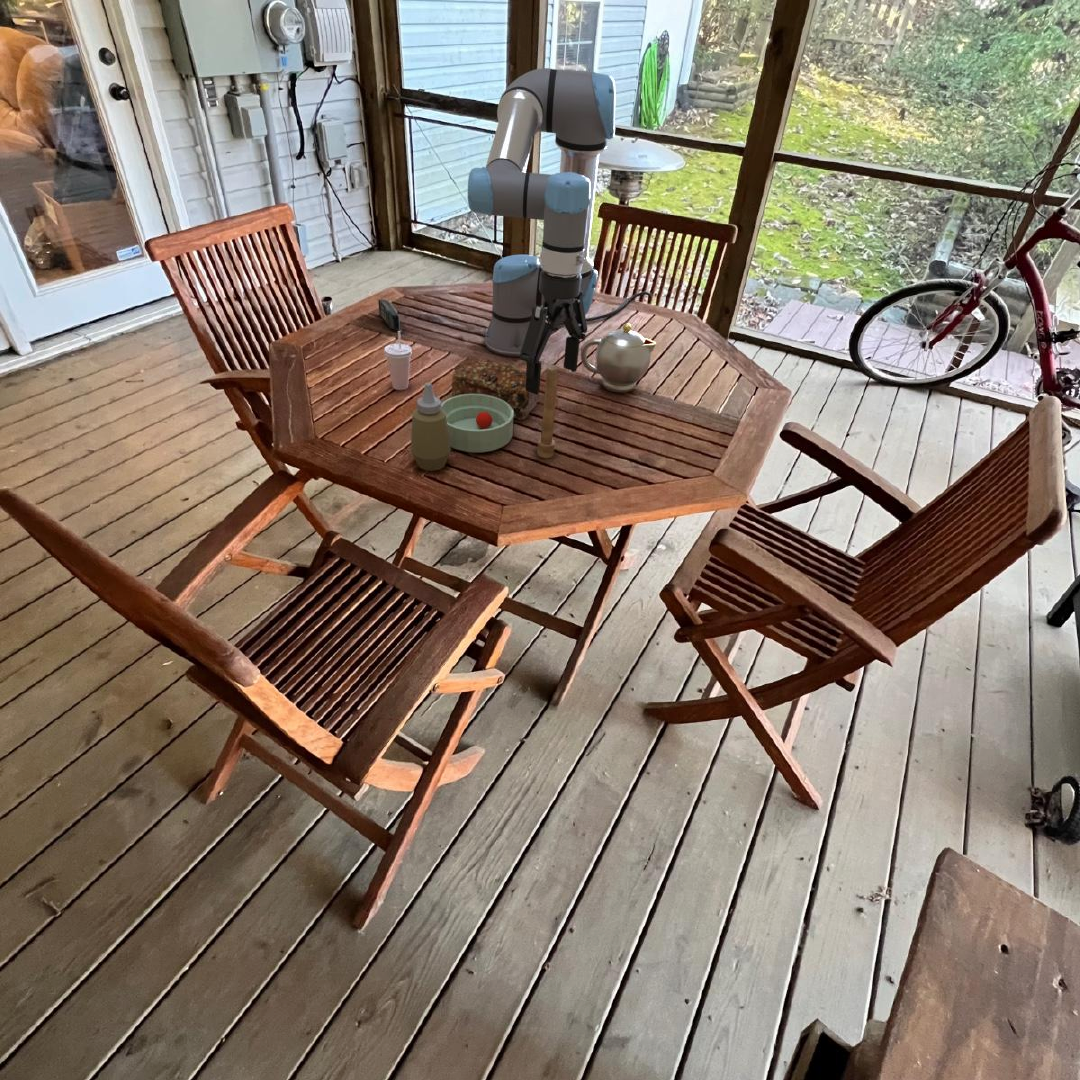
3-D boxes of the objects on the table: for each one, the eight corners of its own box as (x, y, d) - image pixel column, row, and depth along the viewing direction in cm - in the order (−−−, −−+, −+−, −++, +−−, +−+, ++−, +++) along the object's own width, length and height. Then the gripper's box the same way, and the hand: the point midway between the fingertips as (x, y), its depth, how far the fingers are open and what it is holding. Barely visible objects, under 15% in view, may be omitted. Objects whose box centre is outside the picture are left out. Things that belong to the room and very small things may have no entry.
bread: (450, 406, 161) (449, 366, 155) (469, 387, 169) (469, 348, 162) (524, 424, 157) (527, 384, 150) (540, 403, 165) (543, 365, 158)
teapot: (648, 378, 179) (660, 317, 169) (645, 402, 169) (657, 339, 158) (581, 369, 181) (587, 307, 171) (573, 392, 171) (580, 328, 160)
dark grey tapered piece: (376, 298, 196) (393, 316, 186) (386, 297, 198) (403, 315, 187) (377, 315, 199) (394, 334, 189) (387, 314, 201) (404, 333, 191)
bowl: (469, 410, 160) (470, 386, 156) (526, 433, 154) (528, 409, 150) (423, 437, 149) (421, 413, 146) (481, 464, 143) (482, 439, 139)
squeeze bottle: (412, 452, 144) (408, 374, 133) (451, 453, 145) (450, 375, 134) (410, 474, 138) (405, 393, 127) (450, 474, 139) (449, 394, 128)
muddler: (543, 447, 150) (550, 361, 137) (556, 453, 148) (565, 367, 136) (533, 454, 147) (540, 367, 135) (547, 460, 146) (555, 373, 133)
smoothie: (408, 394, 164) (405, 338, 155) (382, 390, 165) (378, 334, 156) (417, 382, 169) (414, 327, 160) (392, 378, 169) (388, 323, 161)
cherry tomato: (482, 421, 155) (482, 407, 153) (495, 426, 153) (495, 412, 151) (472, 427, 152) (472, 413, 150) (485, 433, 151) (485, 418, 149)
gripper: (539, 294, 113) (531, 408, 127) (613, 261, 130) (599, 365, 143) (502, 282, 116) (499, 396, 130) (579, 252, 133) (569, 355, 146)
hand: (551, 380), depth 137 cm, fingers open, 13 cm apart
